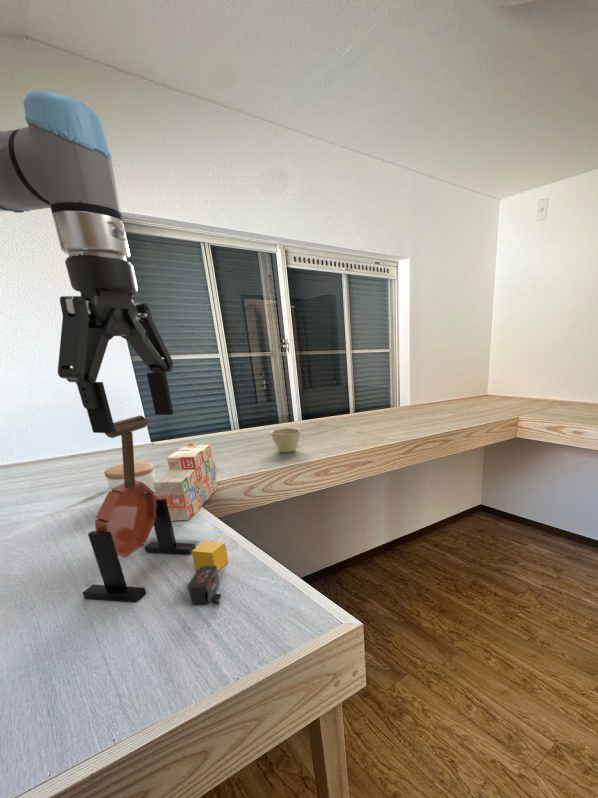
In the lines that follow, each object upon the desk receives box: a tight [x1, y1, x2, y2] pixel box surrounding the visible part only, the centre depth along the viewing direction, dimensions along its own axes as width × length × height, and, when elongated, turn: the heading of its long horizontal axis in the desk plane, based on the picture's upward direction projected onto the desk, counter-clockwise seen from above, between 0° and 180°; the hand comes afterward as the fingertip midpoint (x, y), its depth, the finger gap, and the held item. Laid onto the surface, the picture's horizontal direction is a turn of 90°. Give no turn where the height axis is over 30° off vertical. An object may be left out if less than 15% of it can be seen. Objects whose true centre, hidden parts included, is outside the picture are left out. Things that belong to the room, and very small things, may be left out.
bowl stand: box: [81, 498, 197, 603], centre depth 71 cm, size 9×18×11 cm, turn 173°
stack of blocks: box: [153, 444, 218, 522], centre depth 100 cm, size 21×6×12 cm, turn 4°
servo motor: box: [187, 566, 222, 606], centre depth 66 cm, size 5×7×3 cm, turn 3°
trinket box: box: [103, 461, 156, 492], centre depth 105 cm, size 11×11×9 cm
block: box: [191, 540, 229, 572], centre depth 74 cm, size 4×4×4 cm
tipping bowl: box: [94, 414, 159, 559], centre depth 67 cm, size 23×13×2 cm
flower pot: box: [270, 427, 301, 453], centre depth 147 cm, size 10×10×7 cm
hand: (137, 422), depth 62 cm, fingers open, 13 cm apart
